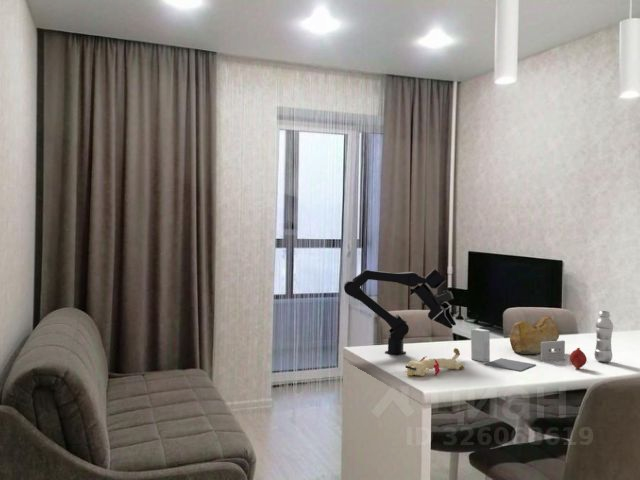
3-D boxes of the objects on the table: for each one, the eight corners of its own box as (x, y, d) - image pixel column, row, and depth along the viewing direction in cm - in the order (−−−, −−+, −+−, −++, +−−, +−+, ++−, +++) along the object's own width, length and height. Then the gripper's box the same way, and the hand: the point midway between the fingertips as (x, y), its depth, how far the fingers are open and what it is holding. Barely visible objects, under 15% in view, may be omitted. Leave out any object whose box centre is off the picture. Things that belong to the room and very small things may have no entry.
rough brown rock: (534, 347, 256) (532, 314, 256) (565, 351, 241) (562, 316, 242) (496, 353, 245) (494, 318, 246) (526, 357, 230) (523, 320, 231)
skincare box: (490, 360, 222) (490, 330, 222) (483, 362, 219) (484, 331, 219) (476, 357, 227) (477, 327, 227) (470, 359, 224) (470, 328, 224)
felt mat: (520, 371, 206) (520, 370, 206) (484, 364, 215) (484, 363, 215) (535, 365, 216) (535, 364, 216) (501, 359, 226) (501, 358, 226)
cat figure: (448, 369, 213) (397, 371, 199) (450, 346, 213) (399, 346, 200) (468, 375, 205) (416, 378, 191) (470, 351, 205) (418, 352, 191)
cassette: (561, 359, 229) (562, 340, 229) (565, 360, 227) (566, 341, 227) (539, 361, 224) (539, 341, 224) (542, 362, 222) (543, 342, 222)
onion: (566, 366, 215) (566, 345, 215) (580, 366, 215) (581, 345, 215) (574, 370, 209) (575, 349, 209) (589, 370, 210) (589, 349, 209)
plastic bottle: (610, 360, 227) (612, 311, 227) (613, 364, 220) (615, 313, 220) (593, 359, 229) (594, 310, 229) (595, 362, 223) (596, 312, 222)
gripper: (437, 285, 221) (465, 316, 216) (445, 282, 238) (471, 310, 234) (416, 304, 224) (443, 334, 220) (426, 299, 241) (451, 327, 237)
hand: (453, 326), depth 227 cm, fingers open, 8 cm apart
